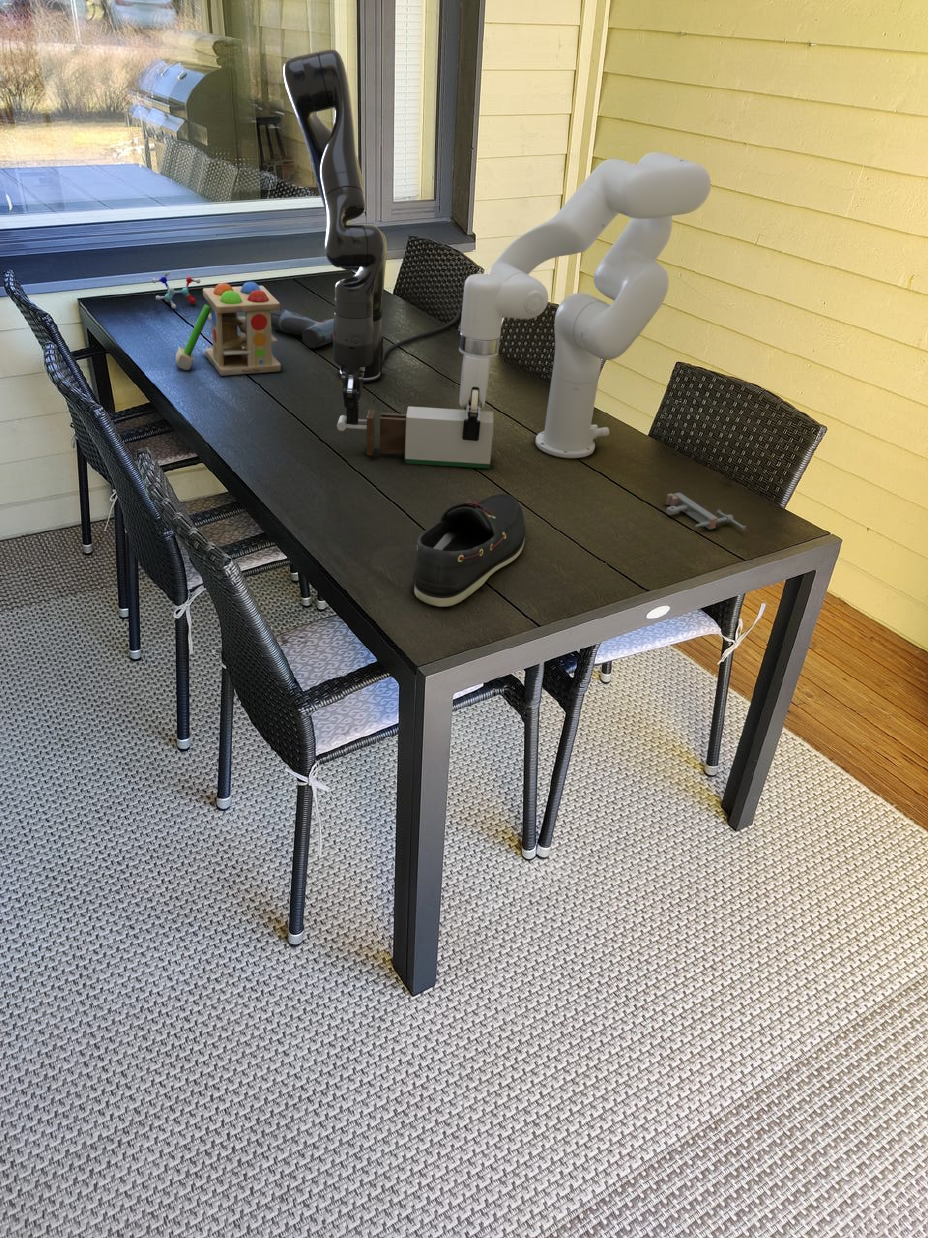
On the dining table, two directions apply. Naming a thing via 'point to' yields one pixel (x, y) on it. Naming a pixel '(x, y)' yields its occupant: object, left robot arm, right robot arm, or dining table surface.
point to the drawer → (381, 431)
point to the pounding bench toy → (229, 347)
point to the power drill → (303, 327)
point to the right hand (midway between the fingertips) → (470, 432)
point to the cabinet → (446, 438)
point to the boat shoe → (467, 548)
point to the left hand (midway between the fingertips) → (352, 424)
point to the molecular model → (172, 292)
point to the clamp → (677, 506)
